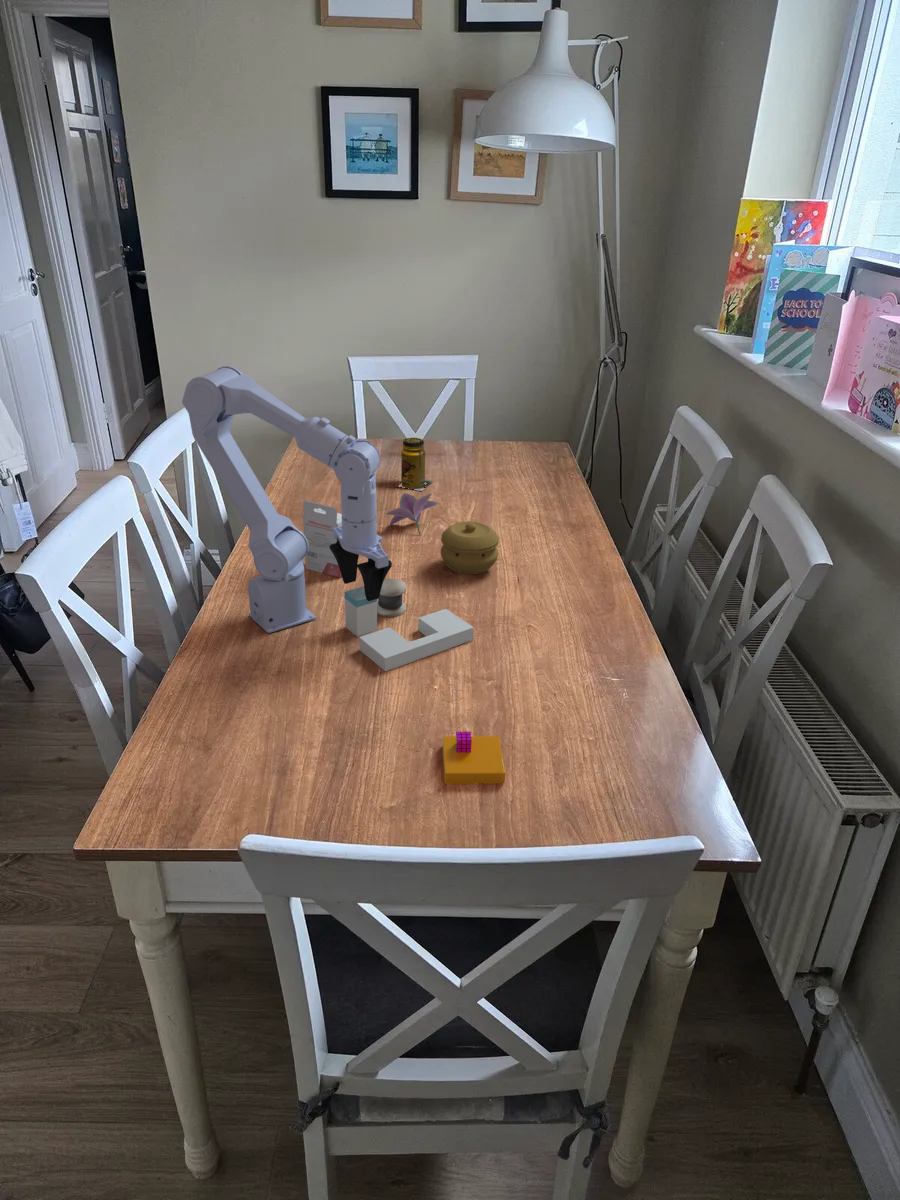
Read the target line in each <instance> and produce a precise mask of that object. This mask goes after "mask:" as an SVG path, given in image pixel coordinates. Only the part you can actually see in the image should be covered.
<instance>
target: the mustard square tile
mask: <svg viewBox="0 0 900 1200" xmlns="http://www.w3.org/2000/svg"><path fill="white" fill-rule="evenodd" d="M441 741H442V743H441V747H442V750H441V751H442V764H443V765H442V766H443V779H444V781H443V782H444V785H463V784H464V785H472V784H471V783H484V784H483V785H489V784H490V785H491V784H492V785H494V783H499V784H498V785H501V784H500V783H504V784H505V782H506V781H505V779H506V769H505V762H504V757H503V751H502V746H501V739H500V736H498V735H497V736H495V735H493V736H492V735H489V736H488V735H486V736H485V735H482V736H481V735H479V736H478V735H476V736H475V735H474V736H473V735H472V732H471V731H455V736H454V735H451V736H445V735H444V736H442V740H441ZM487 783H489V784H487Z"/></svg>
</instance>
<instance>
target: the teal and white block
mask: <svg viewBox="0 0 900 1200" xmlns="http://www.w3.org/2000/svg"><path fill="white" fill-rule="evenodd" d="M343 594H344V596H343V597H344V614H345V628H346V629H347V630H349V631H350V632H351V633H352V634H354V636H356V637H361V636H364V635H367V634H370V633H373V632H376V631H378V614H377V602H378V599H375V600H372V601H368V600H367V599H366V596H365V589H364V585H363V586H359V587H356V588H354V589H350V590H349V589H348V590H347V591H346V590H345V591H344V593H343Z"/></svg>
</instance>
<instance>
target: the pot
mask: <svg viewBox="0 0 900 1200" xmlns="http://www.w3.org/2000/svg"><path fill="white" fill-rule="evenodd" d="M440 540H441V543H442V546H441V548H440V555H441V558H442V561H443V562H444V563H445V565H446V567H448V568H449V569H451V570H452V571H453V572H456V573H458V574H459V573H460V574H465V575H478V574H481V573H484V572H487V571H489V570H490V569H491V568H492V566H494V564H495V563H496V562H497V559H498V557H499V550H498V548H497V547H498V546H499V544H500V539H499V535H498V534H497V532H496V531H495V530H494V529H493V528H492V527H490V526H489V525H487V524H485V523H482V522H477V521H460V522H456V523H454V524H452V525H450V526H448V527H447V528H446V529H445V530H444V531H443V533H442V534H441V539H440Z"/></svg>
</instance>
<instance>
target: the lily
mask: <svg viewBox="0 0 900 1200" xmlns="http://www.w3.org/2000/svg"><path fill="white" fill-rule="evenodd" d="M432 495H433V494H432V493H429V494H426V495H424V496H422V497H420V498H416V497H415V496H414V495H413V494H410V493H403V494H402V495H401V496H400V499H399V507H398V508H395V509H392V510H389V511H388V512H386V513H385V515H389V516H393V517H392V518H391V520H390V521H389V526H392V525H394V524H396V523H399V522H400V521H403V520H405V519H408V520H411V521H412V522H415V523H416V524H415V525H416V528H417V530H418V534H419V536H420V535H421V531H420V526H419V524H418V523H419V522H420V518H421V516H422V515H421V514H422V512H423V511H425V510H428V509H430V508H432V507H436V506H438V505H439V502H437V501H433V500H429V499H430V497H431V496H432ZM421 536H422V535H421Z"/></svg>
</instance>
